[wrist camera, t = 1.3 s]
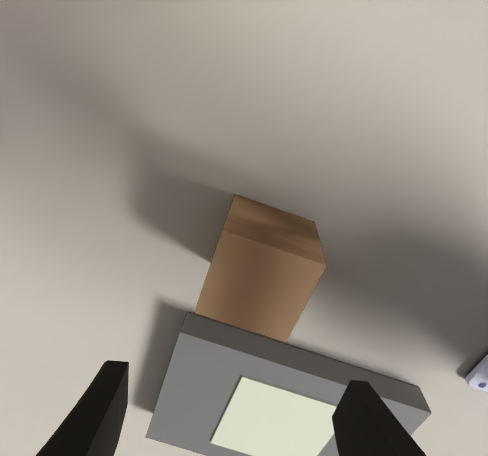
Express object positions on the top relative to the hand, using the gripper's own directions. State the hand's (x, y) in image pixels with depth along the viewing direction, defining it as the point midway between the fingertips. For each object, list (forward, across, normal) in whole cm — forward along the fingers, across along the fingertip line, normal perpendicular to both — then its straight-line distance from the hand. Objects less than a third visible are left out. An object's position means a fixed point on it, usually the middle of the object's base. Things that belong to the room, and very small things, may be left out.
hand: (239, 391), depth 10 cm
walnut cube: (+10, -2, 0) cm, 11 cm away
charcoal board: (+9, -6, +14) cm, 18 cm away
